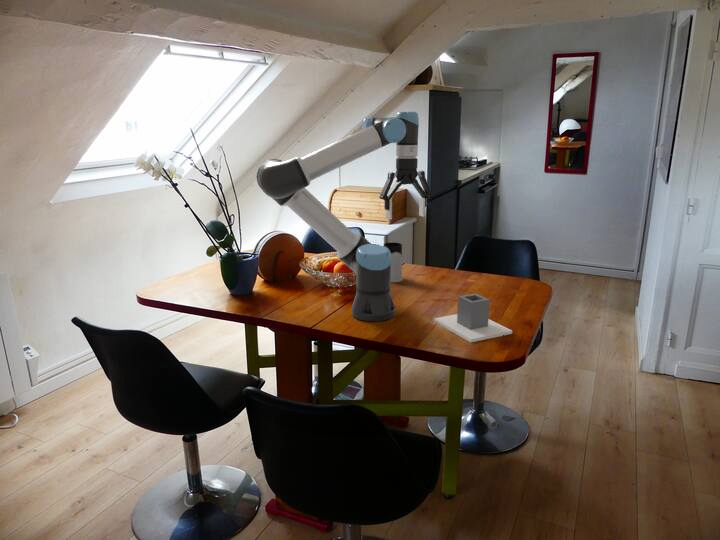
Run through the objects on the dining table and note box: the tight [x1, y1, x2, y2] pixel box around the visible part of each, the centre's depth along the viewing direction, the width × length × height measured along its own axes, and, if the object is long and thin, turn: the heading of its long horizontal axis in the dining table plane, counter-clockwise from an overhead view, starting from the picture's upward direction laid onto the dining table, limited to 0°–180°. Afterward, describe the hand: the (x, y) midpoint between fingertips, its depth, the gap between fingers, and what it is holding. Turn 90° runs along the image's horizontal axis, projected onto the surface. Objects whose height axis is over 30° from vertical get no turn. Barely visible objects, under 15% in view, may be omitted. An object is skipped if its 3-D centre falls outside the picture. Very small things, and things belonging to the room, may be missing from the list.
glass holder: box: [383, 242, 404, 283], centre depth 231 cm, size 9×14×15 cm, turn 15°
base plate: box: [433, 313, 513, 344], centre depth 177 cm, size 16×20×7 cm
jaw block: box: [457, 293, 490, 330], centre depth 176 cm, size 7×7×9 cm
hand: (405, 217), depth 198 cm, fingers open, 13 cm apart
